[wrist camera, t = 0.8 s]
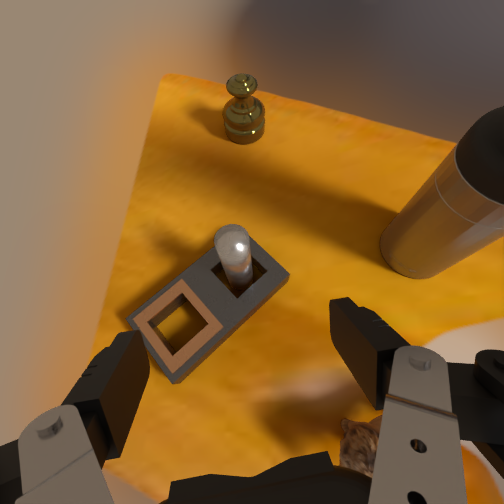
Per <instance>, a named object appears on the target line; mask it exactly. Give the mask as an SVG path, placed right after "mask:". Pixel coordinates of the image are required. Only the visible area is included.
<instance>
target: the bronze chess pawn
mask: <svg viewBox="0 0 504 504" xmlns="http://www.w3.org/2000/svg"><path fill="white" fill-rule="evenodd" d="M257 86H258V84H257V80H256V79H255V78H254V77H253V76H251V75H248V74H237V75H234V76H232V77H231V78H230V79H229V80H228V81H227V83H226V88H227V91H228V92H229V93H230V94H231V95H232V96H235V97H233V98H232V99H230V100H229V101H228V102H227V103H226V104H225V106H224V108H223V118H224V126H225V130H226V135H227V136H228V138H229V139H230V140H232V141H233V142H235V143H239V144H250V143H253V142H255V141H257V140H259V139H260V138H261V137H262V135H263V134H264V130H265V118H264V116H265V108H264V105H263V103H262V102H261V101H260V100H259V99H257V98H255V97H253V96H251V95H252V94H253V93H254V92H255V91H256V90H257Z"/></svg>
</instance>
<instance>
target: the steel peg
mask: <svg viewBox="0 0 504 504" xmlns="http://www.w3.org/2000/svg"><path fill="white" fill-rule="evenodd" d="M214 244H215V247H216V250H217V252H218V255H219V258H220V260H221V263H222V266H223V269H224V271H225V274H226V277H227V279H228V282H229V284H230V286H231V287H232V288H234V289H236V290H244V289H247V288H248V287H249V286H250V285H251V284H252V282H253V271H252V261H251V251H250V241H249V235H248V232H247V231H246V230H245V229H244V228H243V227H242V226H240V225H236V224H229V225H225V226H223V227H222V228H220V229H219V230H218V231H217V233H216V234H215V237H214Z"/></svg>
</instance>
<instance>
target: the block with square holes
mask: <svg viewBox="0 0 504 504" xmlns="http://www.w3.org/2000/svg"><path fill="white" fill-rule="evenodd" d="M249 241H250V251H251V261H252V264H253V265H254V266H255V267H256V268H257V269H258V270H259V271H260V272H261V273H262V274H263V276H262V277H261V278H260V279H258V280H257V281H256V282H255V283H254V284H253V285H252V286H251V287H250V288H248V289H247V290H246V291H245V292H244V293H243V294H242V295H241V296H240V297H239V298H236V297H235V296H234V295H233V294H232V293H231V292H230V291H229V290H228V288H227V287H226V286H225V285H224V284H223V283H222V282H221V281H220V280H219V279H218V278H217V277H216V275H217V274H218V273H220V272H221V271H222V270H223V266H222V263H221V260H220V258H219V255H218V252H217V250H216V247H215V246H214V247H213V248H212V249H210V250H209V251H208V252H207V253H206V254H204V255H203V256H202V257H201V258H199V259H198V260H197V261H196V262H194V263H193V264H192V265H191V266H190V267H188V268H187V269H186V270H185V271H183V272H182V273H181V274H180V275H179V276H177V277H176V278H175V279H174V280H172V281H171V282H170V283H169V284H167V285H166V286H165V287H164V288H163V289H161V290H160V291H159V292H158V293H156V294H155V295H154V296H153V297H151V298H150V299H149V300H148V301H147V302H145V303H144V304H143V305H142V306H140V307H139V308H138V309H137V310H136V311H134V312H133V313H132V314H131V315H129V316H128V317H127V318H126V320H127V322H128V323H129V324H130V326H131V327H132V328H133V330H139V331H140V332H141V334H142V337H143V341H144V345H145V347H146V348H147V349H148V351H149V352H150V354H151V355H152V356H153V358H154V359H155V361H156V362H157V363H158V365H159V366H160V368H161V369H162V370H163V372H164V373H165V375H166V376H167V377H168V379H169V380H170V382H171V383H172V384H179V383H181V382H182V381H183V380H184V379H185V378H186V377H187V376H188V375H189V374H190V373H191V372H192V371H194V370H195V369H196V368H197V367H198V366H199V365H200V364H201V363H202V362H203V361H204V360H205V359H206V358H207V357H208V356H209V355H210V354H212V353H213V352H214V351H215V350H216V349H217V348H218V347H219V346H220V345H221V344H222V343H223V342H224V341H225V340H226V339H227V338H229V337H230V336H231V335H232V334H233V333H234V332H235V331H236V330H237V329H238V328H239V327H240V326H241V325H242V324H243V323H244V322H245V321H247V320H248V319H249V318H250V317H251V316H252V315H253V314H254V313H255V312H256V311H257V310H258V309H259V308H260V307H261V306H262V305H263V304H265V303H266V302H267V301H268V300H269V299H270V298H271V297H272V296H273V295H274V294H275V293H276V292H277V291H278V290H279V289H280V288H281V287H283V286H284V285H285V284H286V283H287V282H288V279H289V276H290V274H289V273H288V272H287V271H286V270H285V269H284V268H283V267H282V266H281V265H280V264H279V263H278V262H277V261H275V260H274V259H273V258H272V257H271V256H270V255H269V254H268V253H267V252H266V251H265V250H264V249H263V248H262V247H261V246H260V245H258V244H257V243H256V242H255V241H254V240H253V239H252V238H251V237H250V236H249ZM187 300H189V301H190V302H191V304H192V305H193V306H194V307H195V308H196V310H197V311H198V312H199V313H200V314H201V315H202V317H203V318H204V319H205V320H206V321H207V323H208V325H207V326H206V327H204V328H203V329H202V330H201V331H200V332H199V333H198V334H197V335H196V336H194V337H193V338H192V339H191V340H190V341H189V342H188V343H187V344H186V345H185V346H183V347H182V348H181V349H180V350H179V351H178V352H177V353H176V351H175V350H174V349H173V348H172V346H171V345H170V344H169V342H168V341H167V340H166V338H165V337H164V336H163V334H162V333H161V332H160V330H159V329H158V328H157V325H159V324H160V323H161V322H162V321H163V320H164V319H166V318H167V317H168V316H169V315H170V314H171V313H173V312H174V311H175V310H176V309H177V308H178V307H180V306H181V305H182V304H183V303H184V302H186V301H187Z"/></svg>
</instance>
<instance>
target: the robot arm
mask: <svg viewBox="0 0 504 504" xmlns="http://www.w3.org/2000/svg"><path fill="white" fill-rule="evenodd" d="M503 236H504V106H503V107H500V108H497V109H494V110H492V111H490V112H488V113H486V114H485V115H483V116H482V117H481V118H480V119H479V120H477V121H476V122H475V124H474V125H473V126H472V127H471V128H470V129H469V130H468V131H467V133H466V134H465V135H464V136H463V137H462V139H461V140H460V141H459V142H458V143H457V145H456V146H455V147H454V148H453V149H452V151H451V152H450V153H449V154H448V155H447V157H446V158H445V159H444V160H443V161H442V163H441V164H440V165H439V166H438V168H437V169H436V170H435V171H434V172H433V173H432V175H431V176H430V177H429V178H428V179H427V181H426V182H425V183H424V184H423V185H422V187H421V188H420V189H419V190H418V191H417V193H416V194H415V195H414V196H413V197H412V198H411V200H410V201H409V202H408V203H407V204H406V206H405V207H404V208H403V209H402V210H401V212H400V213H399V214H398V215H397V216H396V217H395V218H394V220H393V221H392V222H391V223H390V224H389V226H388V227H387V228H386V229H385V230H384V232H383V234H382V235H381V239H380V249H381V253H382V255H383V257H384V259H385V261H386V262H387V263H388V265H389V266H391V267H392V268H393V269H394V270H395V271H397V272H398V273H400V274H402V275H404V276H406V277H410V278H414V279H426V278H430V277H433V276H435V275H437V274H439V273H440V272H442V271H444V270H446V269H447V268H449V267H451V266H453V265H454V264H456V263H458V262H460V261H461V260H463V259H465V258H466V257H468V256H470V255H472V254H473V253H475V252H477V251H479V250H480V249H482V248H484V247H485V246H487V245H489V244H491V243H492V242H494V241H496V240H497V239H499V238H501V237H503ZM329 310H330V333H331V339H332V342H333V344H334V346H335V348H336V350H337V351H338V353H339V354H340V356H341V357H342V359H343V360H344V362H345V364H346V365H347V367H348V368H349V370H350V371H351V373H352V374H353V376H354V378H355V379H356V381H357V382H358V384H359V385H360V387H361V388H362V390H363V391H364V393H365V395H366V396H367V398H368V399H369V401H370V402H371V404H372V405H373V407H374V409H375V410H381V409H384V410H383V416H382V422H381V428H380V434H379V441H378V447H377V453H376V459H375V465H374V471H373V478H371V477H369V476H367V475H365V474H363V473H361V472H359V471H356V470H353V469H350V468H347V467H342V466H336V465H333V464H332V462H331V459H330V456H329V454H328V451H325V452H320V453H315V454H310V455H305V456H300V457H294V458H290V459H288V460H286V461H284V462H282V463H280V464H278V465H276V466H274V467H272V468H270V469H268V470H266V471H264V472H262V473H260V474H258V475H256V476H254V477H239V476H228V475H217V474H208V475H203V476H198V477H192V478H187V479H182V480H177V481H172V482H171V485H170V491H169V497H168V499H166V500H164V501H162V502H161V503H159V504H467V496H466V487H465V479H464V470H463V461H462V453H461V444H460V440H467V441H472V442H473V444H474V445H475V446H476V447H477V448H478V450H479V451H480V452H481V453H482V454H483V455H484V457H485V458H486V459H487V460H488V461H489V462H490V463H491V465H492V466H493V467H494V468H495V469H496V471H497V472H498V473H499V474H500V475H501V476H502V478H503V479H504V351H501V350H482V351H480V352H478V353H477V354H476V357H475V364H464V363H450V362H446V361H445V360H444V358H443V357H441V356H440V355H439V354H437V353H436V352H434V351H432V350H430V349H427V348H424V347H420V346H411V345H410V344H409V343H408V342H407V341H406V340H405V339H403V338H402V337H401V336H400V335H399V334H398V333H397V332H396V331H395V330H394V329H393V328H391V327H390V326H389V325H388V324H387V323H386V322H385V321H384V320H382V318H381V317H380V316H378V315H377V314H376V313H375V312H374V311H372V310H369V309H367V308H365V307H358V306H357V305H356V304H355V303H354V302H353V301H352V300H351V299H350V298H349V297H345V298H339V299H333V300H330V303H329ZM149 373H150V364H149V359H148V356H147V352H146V348H145V345H144V341H143V337H142V334H141V332H140V331H139V330H133V331H127V332H120V333H118V334H117V336H116V337H115V339H114V340H113V342H112V344H111V345H110V347H105V348H104V349H103V350H102V351H101V352H99V353H98V354H97V355H96V356H95V357H94V358H93V359H92V361H91V362H90V364H89V365H88V367H87V369H85V371H84V373H83V374H82V377H81V378H79V380H78V381H77V383H76V384H75V386H74V387H73V388H72V390H71V391H70V393H69V394H68V396H67V397H66V398H65V400H64V401H63V403H62V404H61V406H58V407H55V408H53V409H50V410H48V411H46V412H45V413H43V414H41V415H40V416H38V417H37V418H36V419H34V420H33V421H32V422H31V423H30V424H29V425H28V426H27V427H26V428H25V429H24V430H23V432H22V433H21V435H20V437H19V439H17V440H15V441H12V442H10V443H7V444H5V445H2V446H0V504H114V501H113V499H112V496H111V494H110V491H109V489H108V486H107V484H106V481H105V478H104V476H103V473H102V471H101V470H102V467H103V465H104V463H105V460H109V459H115V458H120V456H121V453H122V451H123V448H124V445H125V442H126V439H127V437H128V434H129V431H130V428H131V426H132V423H133V420H134V417H135V414H136V412H137V409H138V406H139V403H140V400H141V398H142V395H143V392H144V389H145V386H146V384H147V381H148V378H149Z"/></svg>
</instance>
